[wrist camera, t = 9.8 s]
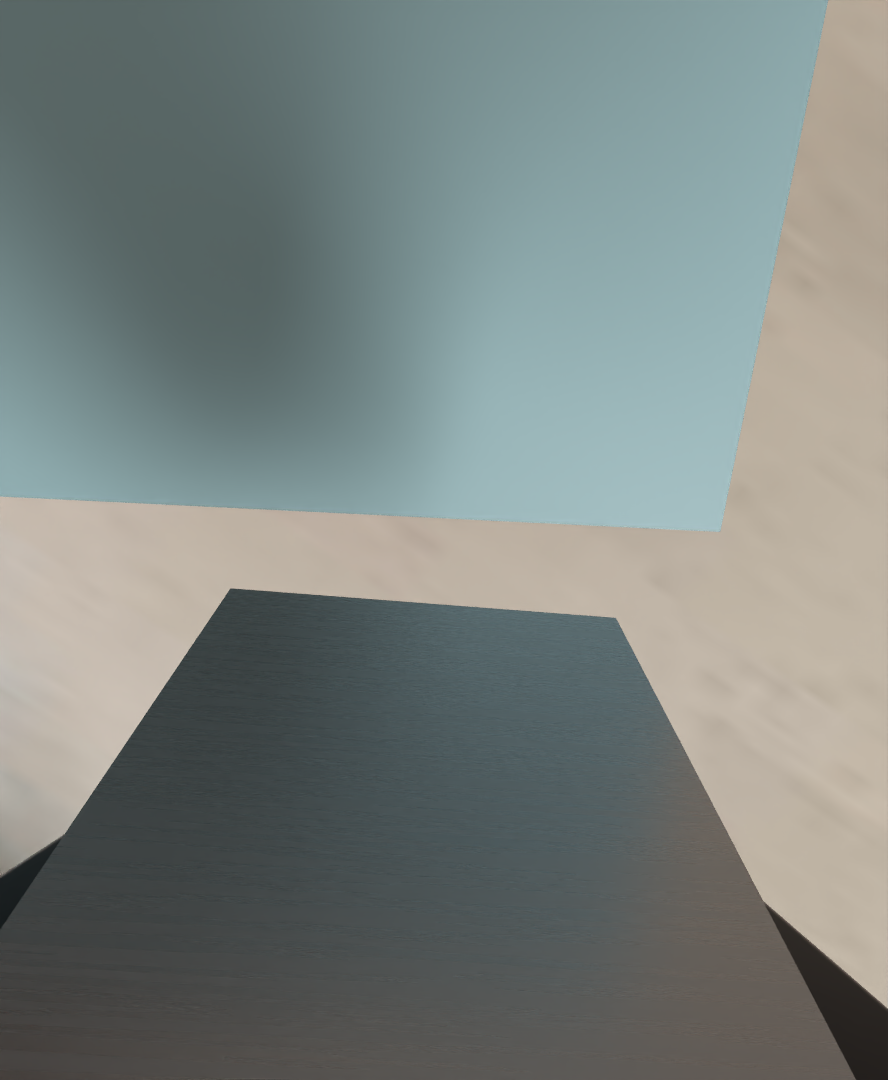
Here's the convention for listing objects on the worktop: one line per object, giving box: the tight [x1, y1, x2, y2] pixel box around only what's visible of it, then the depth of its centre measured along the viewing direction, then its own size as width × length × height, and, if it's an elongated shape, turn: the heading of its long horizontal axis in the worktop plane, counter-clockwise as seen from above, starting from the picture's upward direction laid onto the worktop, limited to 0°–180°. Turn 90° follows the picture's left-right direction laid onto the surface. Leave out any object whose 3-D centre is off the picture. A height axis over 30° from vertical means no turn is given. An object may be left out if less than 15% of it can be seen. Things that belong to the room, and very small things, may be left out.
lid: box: [0, 0, 828, 532], centre depth 11 cm, size 12×16×1 cm
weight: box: [0, 589, 856, 1080], centre depth 6 cm, size 4×4×6 cm
